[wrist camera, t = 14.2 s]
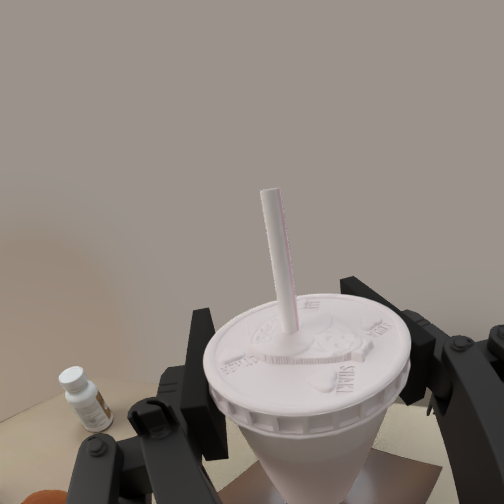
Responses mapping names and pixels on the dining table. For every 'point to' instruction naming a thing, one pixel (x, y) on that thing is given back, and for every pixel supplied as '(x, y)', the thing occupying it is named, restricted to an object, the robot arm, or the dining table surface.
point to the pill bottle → (85, 399)
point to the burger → (47, 497)
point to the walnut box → (362, 492)
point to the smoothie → (308, 377)
